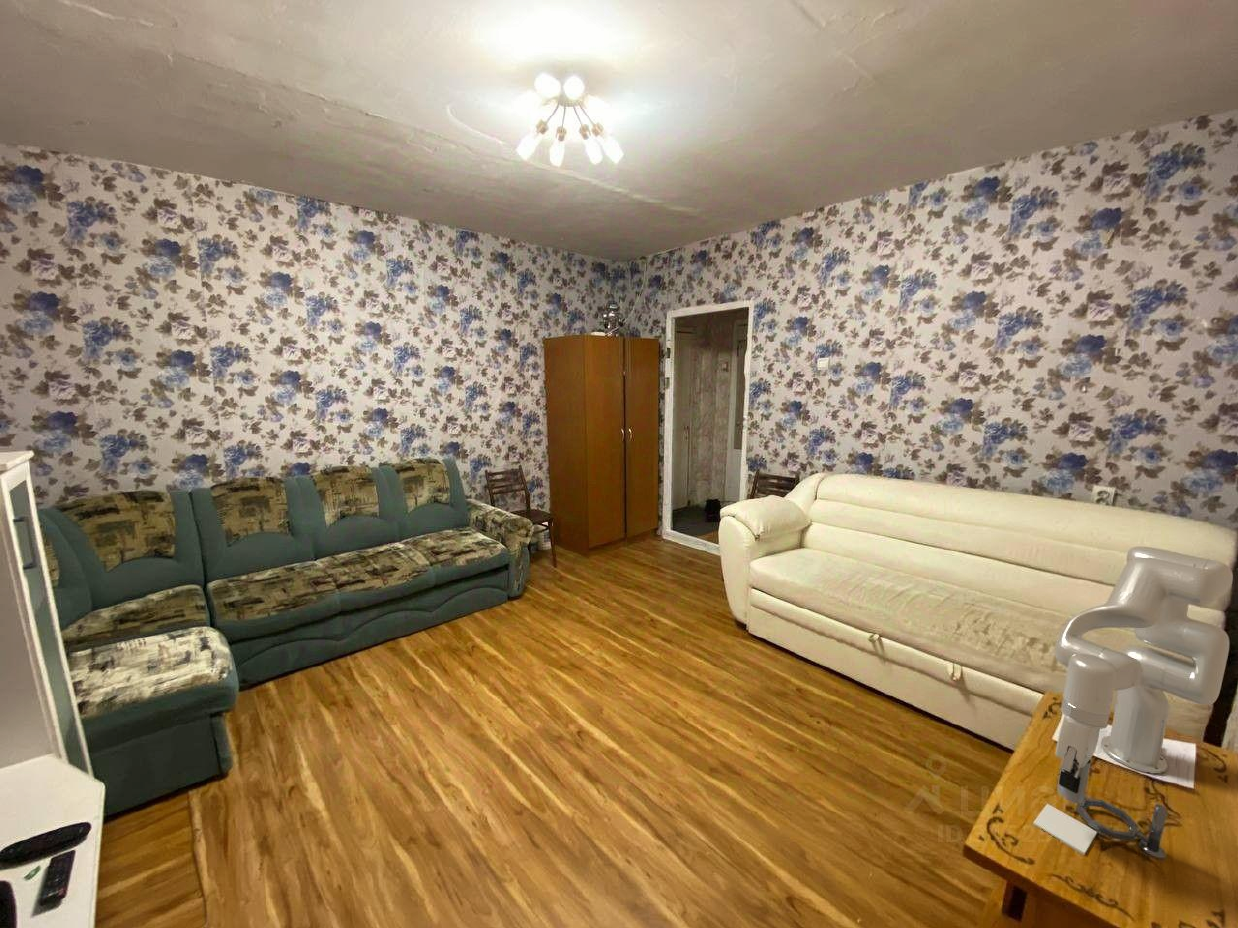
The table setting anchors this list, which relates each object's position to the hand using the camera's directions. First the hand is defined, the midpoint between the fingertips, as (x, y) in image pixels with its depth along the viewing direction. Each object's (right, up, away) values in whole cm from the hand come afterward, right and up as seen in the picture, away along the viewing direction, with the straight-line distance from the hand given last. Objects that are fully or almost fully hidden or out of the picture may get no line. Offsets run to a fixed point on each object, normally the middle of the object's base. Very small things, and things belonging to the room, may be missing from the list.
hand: (1072, 782), depth 111 cm
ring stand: (+12, -12, +1) cm, 17 cm away
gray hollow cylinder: (0, -4, +1) cm, 4 cm away
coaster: (0, -12, +2) cm, 13 cm away
